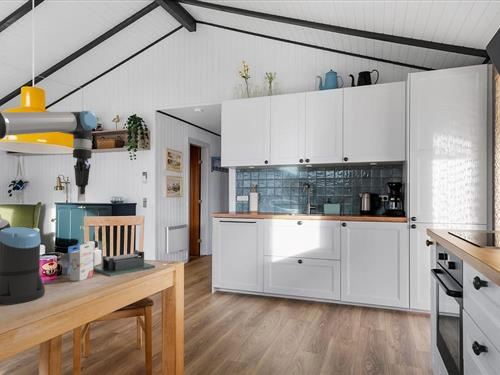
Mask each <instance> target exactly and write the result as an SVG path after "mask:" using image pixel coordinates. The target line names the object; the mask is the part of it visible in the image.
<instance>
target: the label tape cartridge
mask: <svg viewBox="0 0 500 375" xmlns="http://www.w3.org/2000/svg"><path fill="white" fill-rule="evenodd" d="M80 245H82V243H80V244H76V245H71V246H68V247H67V252H66V253H64V254H62V255H60V262H61V261H62V274H61V275H70V252H74V251H78V250H80ZM61 259H62V260H61Z"/></svg>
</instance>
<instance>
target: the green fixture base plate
mask: <svg viewBox="0 0 500 375" xmlns="http://www.w3.org/2000/svg"><path fill="white" fill-rule="evenodd" d="M134 251H139V250H137V249H135V250H134ZM134 251H133V252H134ZM140 252H141V256H137V257H130V258H124V259H118V260H114V258H109V261H107V260H105V259H104V258H105V257H108V256H107V255H105V256H102V265H99V266H98V265H96V266H93V271H94V272H97V273H100V274H104V275H107V276H108V277H114V276H119V275H124V274H130V273H136V272H141V270H142V271H147V270H152V268H153V269H155V268H156V265H154V264H150V263H147V262H145V251H140ZM146 269H147V270H146Z"/></svg>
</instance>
